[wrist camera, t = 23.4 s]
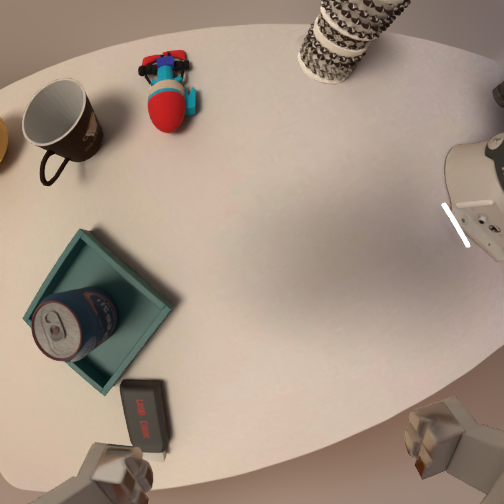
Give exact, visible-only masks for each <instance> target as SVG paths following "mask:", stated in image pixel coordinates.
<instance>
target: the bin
mask: <svg viewBox="0 0 504 504" xmlns="http://www.w3.org/2000/svg"><path fill="white" fill-rule="evenodd" d="M90 286H93V287H98V288H101V289H103V290H105V291H106V292H107V293H109V294H110V295H111V297H112V298H113V299H114V301H115V303H116V305H117V308H118V311H119V323H118V327H117V329H116V331H115V333H114V334H113V335H112V336H111V337H110V338H109V339H107V340H106V341H105V342H103V343H102V344H101V345H99V346H98V347H97V348H95V349H94V350H93V351H91V352H90V353H89V354H87V355H86V356H84V357H83V358H82V359H80V360H78V361H74V362H66V363H67V364H68V365H69V366H70V367H71V368H72V369H73V370H75V371H76V372H77V373H78V374H79V375H80V376H81V377H82V378H84V379H85V380H86V381H87V382H88V383H89V384H91V385H92V386H93V387H94V388H95V389H97V390H98V391H99V392H100V393H102V394H103V395H104V396H106V394H107V393H108V392H109V390H110V389H111V388H112V387H113V385H114V384H115V383H116V381H117V380H118V379H119V377H120V376H121V375H122V373H123V372H124V371H125V369H126V368H127V367H128V366H129V364H130V363H131V362H132V360H133V359H134V358H135V356H136V355H137V354H138V352H139V351H140V350H141V349H142V347H143V346H144V345H145V343H146V342H147V341H148V339H149V338H150V337H151V336H152V334H153V333H154V332H155V330H156V329H157V328H158V327H159V325H160V324H161V323H162V321H163V320H164V319H165V318H166V316H167V315H168V314H169V312H170V311H171V310H172V309H173V307H174V306H175V305H174V304H173V303H172V302H170V301H169V300H168V299H167V298H165V297H164V296H163V295H162V294H161V293H159V292H158V291H157V290H156V289H155V288H153V287H152V286H151V285H150V284H149V283H148V282H146V281H145V280H144V279H143V278H142V277H141V276H139V275H138V274H137V273H136V272H135V271H134V270H132V269H131V268H130V267H129V266H128V265H127V264H126V263H124V262H123V261H122V260H121V259H120V258H119V257H118V256H117V255H115V254H114V253H113V252H112V251H111V250H110V249H109V248H108V247H107V246H106V245H104V244H103V243H102V242H101V241H100V240H99V239H98V238H97V237H96V236H95V235H94V234H93V233H92V232H91V231H87V230H84V229H79V230H78V232H77V233H76V234H75V236H74V237H73V239H72V240H71V242H70V243H69V244H68V246H67V247H66V249H65V250H64V252H63V253H62V255H61V256H60V258H59V259H58V261H57V262H56V264H55V265H54V267H53V268H52V270H51V272H50V273H49V275H48V276H47V278H46V280H45V281H44V283H43V284H42V286H41V288H40V289H39V291H38V293H37V294H36V296H35V298H34V300H33V301H32V303H31V305H30V306H29V308H28V310H27V312H26V314H25V315H24V317H23V320H24V321H25V322H26V323H27V324H28V325H29V326H30V327H31V322H32V317H33V314H34V312H35V310H36V309H37V307H38V306H39V304H40V303H41V302H42V300H43V299H44V298H46V297H47V296H49V295H51V294H54V293H59V292H64V291H69V290H74V289H79V288H84V287H90Z"/></svg>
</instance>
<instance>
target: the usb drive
mask: <svg viewBox="0 0 504 504" xmlns="http://www.w3.org/2000/svg"><path fill="white" fill-rule="evenodd" d="M120 394H121V400H122V405H123V410H124V415H125V419H126V424H127V428H128V433H129V437H130V441H131V443H132V445H133V446H134V447H140V449H141V451H142V452H143V457H142V459H144V460H145V461H165V458H166V452H165V449H166V446H167V444H168V440H169V431H168V426H167V420H166V414H165V408H164V401H163V394H162V387H161V381H132V380H123V381H122V382H121V384H120Z"/></svg>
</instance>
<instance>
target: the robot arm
mask: <svg viewBox="0 0 504 504" xmlns="http://www.w3.org/2000/svg"><path fill="white" fill-rule="evenodd" d="M445 178H446V184H447V189H448V192H449V195H450V199H451V211H450V210H449V208H448V206H447V205H446V203H443V204H442V207H443V208H444V210H445V211H446V213H447V215H448V216H449V218H450V219H451V221H452V223H453V224H454V226H455V228H456V230H457V231H458V233H459V235H460V236H461V238H462V240H463V242H464V244H465V245H466V247H470V244H469V242H468V240H467V238H466V237H465V235H464V233H463V231H464V232H465V233H466V234H467V235H468V236H469V237H470V238H472V239H473V240H474V241H475V242H476V243H477V244H478V245H479V246H480V247H482V248H483V249H484V250H485V251H486V252H487V253H488V254H489V255H490V256H491V257H492V258H493V259H494V260H496V261H497V262H498V261H502V260H503V259H504V132H503V133H500V134H498V135H496V136H494V137H492V138H491V139H489V140H487V141H483V142H479V143H473V144H458V145H456V146H454V147H453V148H452V149H451V150H450V152H449V153H448V156H447V159H446V164H445ZM462 220H463V222H462ZM408 420H409V422H410V423H411V424H410V426H409V427H408V428H407V429H406V432H405V445H406V448H407V451H408V453H409V455H410V456H412V457H414V458H416V459H417V460H416V463H415V466H416V468H417V470H418V472H419V474H420V476H421V478H422V479H425V478H428V477H431V476H433V475H436V474H438V473H441V472H443V471H446V472H447V473H449V474H451V475H452V476H454V477H456V478H458V479H459V480H461V481H463V482H465V483H467V484H468V485H470V486H472V487H474V488H476V489H477V490H479V491H481V492H483V493H485V494H487V495H486V496H485V498H484V499H483V500H482V502H481V503H480V504H504V431H503V430H500V429H497V428H494V427H491V426H488V425H485V424H482V425H479V424H478V423H477V422H476V420H475V419H474V418H473V417H472V415H471V414H470V413H469V412H468V411H467V409H466V408H465V407H464V406H463V405H462V403H461V402H460V401H459V400H458V399H457V397H455V396H451V397H449V398H446V399H443V400H441V401H438V402H435V403H432V404H430V405H427V406H424V407H421V408H418V409H416V410H413V411H411V413H410V415H409V419H408ZM142 457H143V452H142V451H141V449H140V447H134V446H124V445H115V444H106V443H98V442H95V443H94V444H93V445H92V446H91V448H90V450H89V452H88V454H87V456H86V458H85V460H84V462H83V464H82V466H81V468H80V471H79V473H78V475H77V477H71V478H70V479H68V480H67V481H65V482H63V483H62V484H60V485H59V486H57V487H55V488H54V489H52V490H51V491H49V492H47V493H46V494H44V495H42V496H41V497H39V498H38V499H36V500H34V501H32V502H31V503H29V504H148V500H149V498H148V497H147V495H146V492H148V491H149V490H150V489H151V488H152V484H153V472H152V469H151V466H150V464H149V463H148V462H147V461H145V460H144V459H142Z"/></svg>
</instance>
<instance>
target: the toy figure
mask: <svg viewBox="0 0 504 504" xmlns="http://www.w3.org/2000/svg"><path fill="white" fill-rule="evenodd" d="M163 54H164V55H153V56H148V57H145V58H144V59H143V63H142V66H140V67H139V69H138V73H139V75H140V76H144V75H145V78H146V80H147V81H148V82H149V84H151V86H152V87H151V89H150V90H149V93H148V111H149V115H150V118H151V120H152V122H153V124H154V125H155V127H156V128H157V129H159V130H160V131H162V132H165V133H170V132H173V131H175V130H176V129H177V128H178V127H179V126H180V124H181V123H182V121H183V118H184V115H188V116H191V115H194V114H195V99H196V90H195V89H194V87H193V88H192V90H191V92H190V94H189V96H188V92H187V89H186V88H185V90H184V88H183V86H182V85H181V84H180V83H181V82H182V80H183V76H184V69H185V70H188V69H189V61H188V60H186V59H185V52H184V51H183V50H174V51H167V52H164V53H163ZM165 55H167V56H166V57H164V56H165ZM173 57H175V58H179V59H183V60H185V61H184V62H183V61H181V60H180V61H174V60H173ZM156 60H157V64H154V65H152V64H150V63H152V62H154V61H156ZM146 65H147V66H146ZM145 66H146V67H145ZM173 70H175V71H177V70H182V71H181V76H179V77H176V78H174V79H173ZM147 74H148V75H151V74H153V75H157V77H158V81H156V80H152V82H151V81H150V80H149V78H148V77H147Z"/></svg>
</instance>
